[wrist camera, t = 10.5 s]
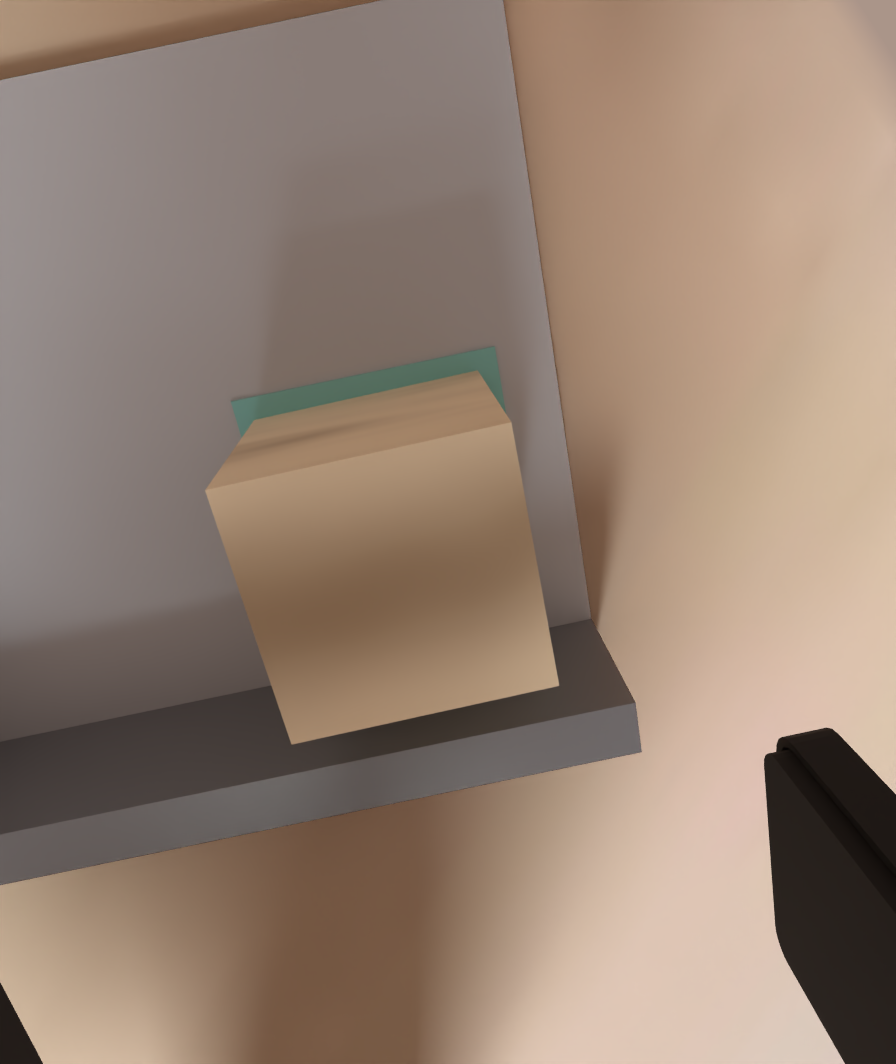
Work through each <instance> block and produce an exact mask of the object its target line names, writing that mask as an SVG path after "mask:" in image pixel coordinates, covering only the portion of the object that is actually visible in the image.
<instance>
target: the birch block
mask: <svg viewBox="0 0 896 1064" xmlns="http://www.w3.org/2000/svg"><path fill="white" fill-rule="evenodd" d="M205 492H206V495H207V498H208V501H209V504H210V507H211V509H212V512H213V515H214V518H215V521H216V524H217V527H218V530H219V533H220V536H221V539H222V542H223V545H224V548H225V551H226V554H227V556H228V559H229V562H230V565H231V568H232V571H233V574H234V577H235V580H236V583H237V586H238V589H239V592H240V595H241V598H242V601H243V604H244V606H245V609H246V612H247V615H248V618H249V621H250V624H251V627H252V630H253V633H254V636H255V639H256V642H257V645H258V648H259V651H260V654H261V656H262V659H263V662H264V665H265V668H266V671H267V674H268V677H269V680H270V683H271V686H272V689H273V692H274V695H275V698H276V701H277V704H278V706H279V709H280V712H281V715H282V718H283V721H284V724H285V727H286V730H287V733H288V736H289V739H290V742H291V745H292V744H297V743H301V742H306V741H310V740H315V739H319V738H324V737H329V736H333V735H338V734H342V733H347V732H351V731H356V730H360V729H365V728H370V727H374V726H379V725H383V724H388V723H392V722H397V721H401V720H406V719H410V718H415V717H420V716H424V715H429V714H433V713H438V712H442V711H447V710H451V709H456V708H461V707H465V706H470V705H474V704H479V703H483V702H488V701H492V700H497V699H502V698H506V697H511V696H515V695H520V694H524V693H529V692H533V691H538V690H543V689H547V688H552V687H556V686H559V681H558V676H557V670H556V665H555V659H554V654H553V648H552V643H551V637H550V632H549V626H548V621H547V615H546V610H545V604H544V599H543V593H542V588H541V582H540V577H539V571H538V566H537V560H536V555H535V549H534V544H533V538H532V533H531V527H530V522H529V516H528V511H527V505H526V500H525V494H524V489H523V483H522V478H521V472H520V467H519V461H518V456H517V450H516V445H515V439H514V434H513V428H512V423H511V421H510V419H509V418H508V416H507V415H506V413H505V412H504V410H503V409H502V407H501V405H500V404H499V402H498V401H497V399H496V398H495V396H494V395H493V393H492V392H491V390H490V389H489V387H488V385H487V384H486V382H485V381H484V379H483V378H482V376H481V375H480V373H479V372H478V370H477V371H472V372H468V373H463V374H459V375H454V376H450V377H445V378H441V379H436V380H432V381H427V382H423V383H418V384H414V385H409V386H405V387H400V388H396V389H391V390H387V391H382V392H378V393H373V394H369V395H364V396H360V397H355V398H351V399H346V400H342V401H337V402H333V403H328V404H324V405H319V406H315V407H310V408H306V409H301V410H297V411H292V412H288V413H283V414H279V415H274V416H270V417H265V418H261V419H256V420H254V421H253V422H252V424H251V425H250V427H249V428H248V430H247V431H246V432H245V434H244V435H243V437H242V438H241V440H240V441H239V442H238V444H237V445H236V447H235V448H234V450H233V451H232V452H231V454H230V455H229V457H228V458H227V460H226V461H225V462H224V464H223V465H222V467H221V468H220V470H219V471H218V472H217V474H216V475H215V477H214V478H213V480H212V481H211V482H210V484H209V485H208V487H207V488H206V490H205Z"/></svg>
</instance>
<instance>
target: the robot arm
mask: <svg viewBox="0 0 896 1064" xmlns="http://www.w3.org/2000/svg"><path fill="white" fill-rule="evenodd" d="M764 770H765V784H766V798H767V813H768V827H769V841H770V856H771V870H772V884H773V898H774V913H775V926H776V933H777V937H778V940H779V943H780V946H781V949H782V952H783V954H784V957H785V959H786V961H787V963H788V964H789V966H790V968H791V970H792V971H793V973H794V975H795V977H796V978H797V980H798V982H799V984H800V985H801V987H802V989H803V991H804V992H805V994H806V996H807V998H808V1000H809V1001H810V1003H811V1005H812V1007H813V1008H814V1010H815V1012H816V1014H817V1015H818V1017H819V1019H820V1021H821V1022H822V1024H823V1026H824V1028H825V1029H826V1031H827V1033H828V1035H829V1036H830V1038H831V1040H832V1042H833V1043H834V1045H835V1047H836V1049H837V1050H838V1052H839V1054H840V1056H841V1057H842V1059H843V1061H844V1063H845V1064H896V794H895V793H894V792H893V791H892V790H891V789H890V788H889V787H888V786H887V785H886V784H885V783H884V782H883V781H882V780H881V778H880V777H879V776H878V775H877V774H876V773H875V772H874V771H873V770H872V769H871V768H870V767H869V766H868V765H867V764H866V763H865V762H864V761H863V760H862V758H861V757H860V756H859V755H858V754H857V753H856V752H855V751H854V750H853V749H852V748H851V747H850V746H849V745H848V744H847V743H846V742H845V741H844V740H843V738H842V737H841V736H840V735H839V734H838V733H836V732H835V731H834V730H833V729H830V728H823V729H818V730H814V731H809V732H804V733H800V734H795V735H790V736H786V737H782V738H780V739H779V740H778V742H777V750H776V752H774V753H769V754H767V755H766V756H765V759H764ZM0 1064H43V1063H42V1061H41V1059H40V1057H39V1055H38V1053H37V1051H36V1049H35V1048H34V1046H33V1044H32V1042H31V1040H30V1038H29V1036H28V1034H27V1032H26V1030H25V1029H24V1027H23V1025H22V1023H21V1021H20V1019H19V1017H18V1015H17V1013H16V1011H15V1010H14V1008H13V1006H12V1004H11V1002H10V1000H9V998H8V996H7V994H6V993H5V991H4V989H3V987H2V985H1V983H0Z"/></svg>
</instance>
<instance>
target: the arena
mask: <svg viewBox="0 0 896 1064" xmlns="http://www.w3.org/2000/svg"><path fill="white" fill-rule="evenodd" d="M477 370H478V372H479V373H480V375H481V376H482V378H483V379H484V381H485V382H486V384H487V385H488V387H489V389H490V390H491V392H492V393H493V395H494V396H495V398H496V399H497V401H498V402H499V404H500V405H501V407H502V409H503V410H504V412H505V413H506V415H507V416H508V418H509V419H510V421H511V423H512V428H513V434H514V439H515V445H516V450H517V456H518V461H519V467H520V472H521V478H522V483H523V489H524V494H525V500H526V505H527V511H528V516H529V522H530V527H531V533H532V538H533V544H534V549H535V555H536V560H537V566H538V571H539V577H540V582H541V588H542V593H543V599H544V604H545V610H546V615H547V621H548V626H549V632H550V637H551V643H552V648H553V654H554V659H555V665H556V670H557V676H558V681H559V686H556V687H552V688H547V689H543V690H538V691H533V692H529V693H524V694H520V695H515V696H511V697H506V698H502V699H497V700H492V701H488V702H483V703H479V704H474V705H470V706H465V707H461V708H456V709H451V710H447V711H442V712H438V713H433V714H429V715H424V716H420V717H415V718H410V719H406V720H401V721H397V722H392V723H388V724H383V725H379V726H374V727H370V728H365V729H360V730H356V731H351V732H347V733H342V734H338V735H333V736H329V737H324V738H319V739H315V740H310V741H306V742H301V743H297V744H292V745H291V742H290V739H289V736H288V733H287V730H286V727H285V724H284V721H283V718H282V715H281V712H280V709H279V706H278V704H277V701H276V698H275V695H274V692H273V689H272V686H271V683H270V680H269V677H268V674H267V671H266V668H265V665H264V662H263V659H262V656H261V654H260V651H259V648H258V645H257V642H256V639H255V636H254V633H253V630H252V627H251V624H250V621H249V618H248V615H247V612H246V609H245V606H244V604H243V601H242V598H241V595H240V592H239V589H238V586H237V583H236V580H235V577H234V574H233V571H232V568H231V565H230V562H229V559H228V556H227V554H226V551H225V548H224V545H223V542H222V539H221V536H220V533H219V530H218V527H217V524H216V521H215V518H214V515H213V512H212V509H211V507H210V504H209V501H208V498H207V495H206V492H205V490H206V488H207V487H208V485H209V484H210V482H211V481H212V480H213V478H214V477H215V475H216V474H217V472H218V471H219V470H220V468H221V467H222V465H223V464H224V462H225V461H226V460H227V458H228V457H229V455H230V454H231V452H232V451H233V450H234V448H235V447H236V445H237V444H238V442H239V441H240V440H241V438H242V437H243V435H244V434H245V432H246V431H247V430H248V428H249V427H250V425H251V424H252V422H253V421H254V420H256V419H261V418H265V417H270V416H274V415H279V414H283V413H288V412H292V411H297V410H301V409H306V408H310V407H315V406H319V405H324V404H328V403H333V402H337V401H342V400H346V399H351V398H355V397H360V396H364V395H369V394H373V393H378V392H382V391H387V390H391V389H396V388H400V387H405V386H409V385H414V384H418V383H423V382H427V381H432V380H436V379H441V378H445V377H450V376H454V375H459V374H463V373H468V372H472V371H477ZM639 752H642V751H641V743H640V735H639V727H638V719H637V711H636V703H635V701H634V699H633V697H632V695H631V693H630V691H629V689H628V688H627V686H626V684H625V682H624V680H623V678H622V676H621V674H620V672H619V670H618V669H617V667H616V665H615V663H614V661H613V659H612V657H611V655H610V653H609V651H608V650H607V648H606V646H605V644H604V642H603V640H602V638H601V636H600V634H599V632H598V631H597V629H596V627H595V625H594V623H593V621H592V619H591V613H590V606H589V599H588V592H587V585H586V578H585V571H584V564H583V557H582V550H581V543H580V536H579V529H578V522H577V515H576V508H575V501H574V494H573V487H572V480H571V473H570V466H569V459H568V452H567V445H566V438H565V431H564V424H563V417H562V410H561V403H560V396H559V389H558V382H557V375H556V368H555V361H554V354H553V347H552V340H551V333H550V326H549V319H548V312H547V305H546V298H545V291H544V284H543V277H542V270H541V262H540V255H539V248H538V241H537V234H536V227H535V220H534V213H533V206H532V199H531V192H530V185H529V178H528V171H527V164H526V157H525V150H524V143H523V136H522V129H521V122H520V115H519V108H518V101H517V94H516V87H515V80H514V73H513V66H512V59H511V52H510V45H509V38H508V31H507V24H506V17H505V10H504V3H503V0H380V1H375V2H371V3H366V4H361V5H356V6H352V7H347V8H342V9H337V10H333V11H328V12H323V13H318V14H313V15H309V16H304V17H299V18H294V19H290V20H285V21H280V22H275V23H270V24H266V25H261V26H256V27H251V28H247V29H242V30H237V31H232V32H228V33H223V34H218V35H213V36H208V37H204V38H199V39H194V40H189V41H185V42H180V43H175V44H170V45H166V46H161V47H156V48H151V49H146V50H142V51H137V52H132V53H127V54H123V55H118V56H113V57H108V58H104V59H99V60H94V61H89V62H84V63H80V64H75V65H70V66H65V67H61V68H56V69H51V70H46V71H41V72H37V73H32V74H27V75H22V76H18V77H13V78H8V79H3V80H0V885H3V884H8V883H13V882H18V881H22V880H27V879H32V878H37V877H42V876H47V875H51V874H56V873H61V872H66V871H71V870H75V869H80V868H85V867H90V866H95V865H100V864H104V863H109V862H114V861H119V860H124V859H128V858H133V857H138V856H143V855H148V854H153V853H157V852H162V851H167V850H172V849H177V848H181V847H186V846H191V845H196V844H201V843H206V842H210V841H215V840H220V839H225V838H230V837H234V836H239V835H244V834H249V833H254V832H259V831H263V830H268V829H273V828H278V827H283V826H288V825H292V824H297V823H302V822H307V821H312V820H316V819H321V818H326V817H331V816H336V815H341V814H345V813H350V812H355V811H360V810H365V809H369V808H374V807H379V806H384V805H389V804H394V803H398V802H403V801H408V800H413V799H418V798H422V797H427V796H432V795H437V794H442V793H447V792H451V791H456V790H461V789H466V788H471V787H475V786H480V785H485V784H490V783H495V782H500V781H504V780H509V779H514V778H519V777H524V776H529V775H533V774H538V773H543V772H548V771H553V770H557V769H562V768H567V767H572V766H577V765H582V764H586V763H591V762H596V761H601V760H606V759H610V758H615V757H620V756H625V755H630V754H635V753H639Z"/></svg>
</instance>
